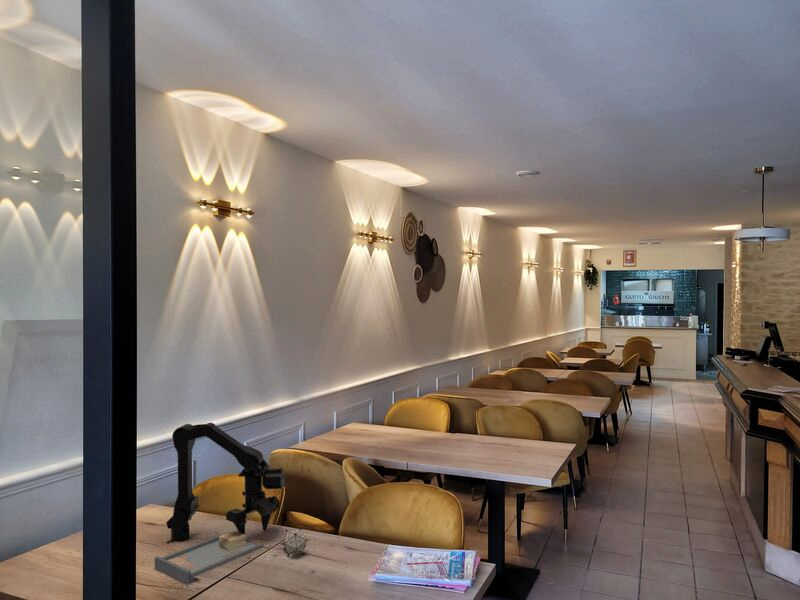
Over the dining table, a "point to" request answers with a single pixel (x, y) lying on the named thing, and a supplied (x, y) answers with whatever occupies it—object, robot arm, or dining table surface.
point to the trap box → (201, 559)
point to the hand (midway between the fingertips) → (254, 534)
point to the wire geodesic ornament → (294, 541)
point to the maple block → (232, 541)
